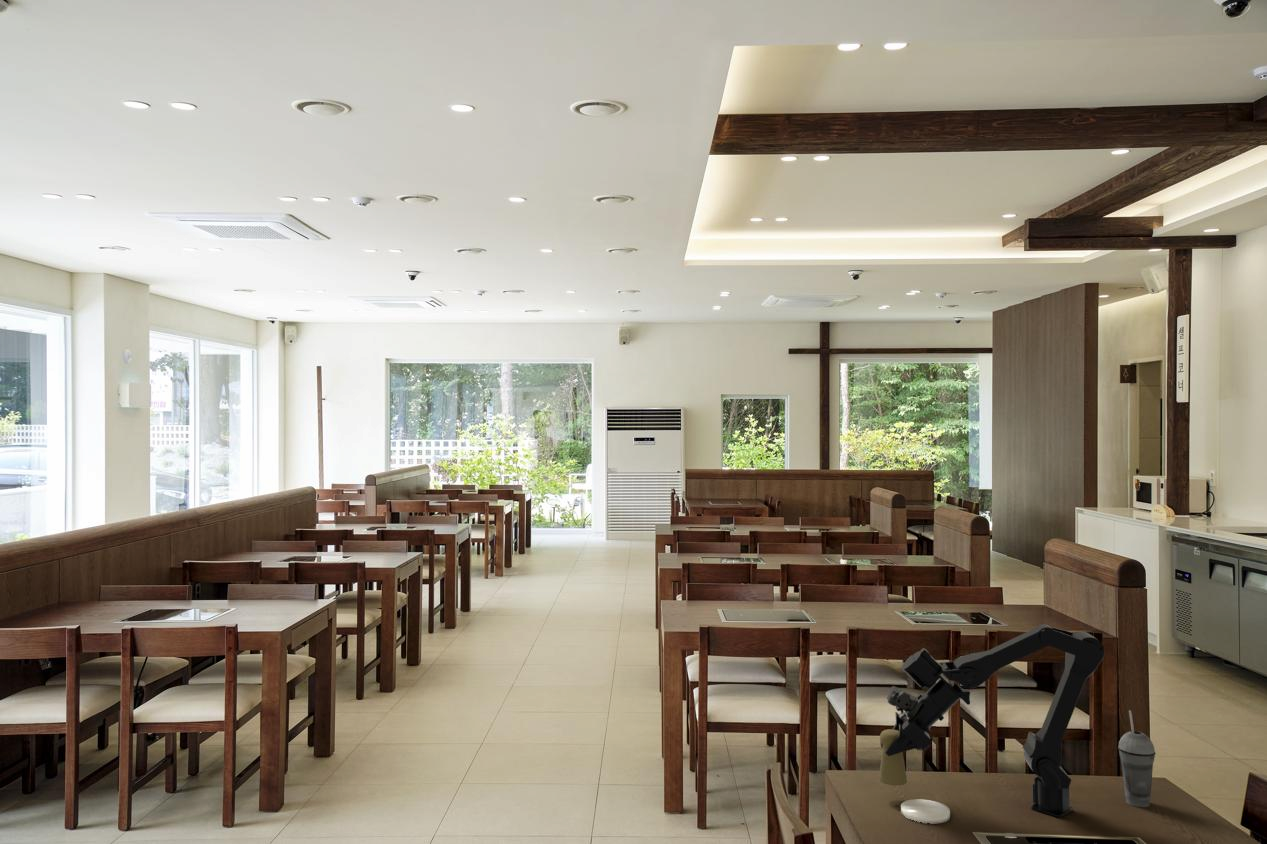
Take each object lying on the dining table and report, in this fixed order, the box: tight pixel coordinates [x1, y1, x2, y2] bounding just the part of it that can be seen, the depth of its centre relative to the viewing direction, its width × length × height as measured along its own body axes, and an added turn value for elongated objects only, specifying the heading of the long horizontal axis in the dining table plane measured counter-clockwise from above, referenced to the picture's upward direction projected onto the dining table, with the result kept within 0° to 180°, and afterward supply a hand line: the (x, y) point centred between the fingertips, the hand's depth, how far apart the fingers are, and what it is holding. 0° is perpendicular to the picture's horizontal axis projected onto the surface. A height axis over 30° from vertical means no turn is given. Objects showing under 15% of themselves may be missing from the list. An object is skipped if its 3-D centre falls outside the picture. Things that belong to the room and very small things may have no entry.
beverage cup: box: [1117, 710, 1157, 808], centre depth 200 cm, size 7×7×20 cm
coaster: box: [900, 798, 951, 825], centre depth 195 cm, size 10×10×1 cm
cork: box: [878, 728, 908, 787], centre depth 203 cm, size 6×6×11 cm
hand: (885, 750), depth 204 cm, fingers closed on cork, 5 cm apart
